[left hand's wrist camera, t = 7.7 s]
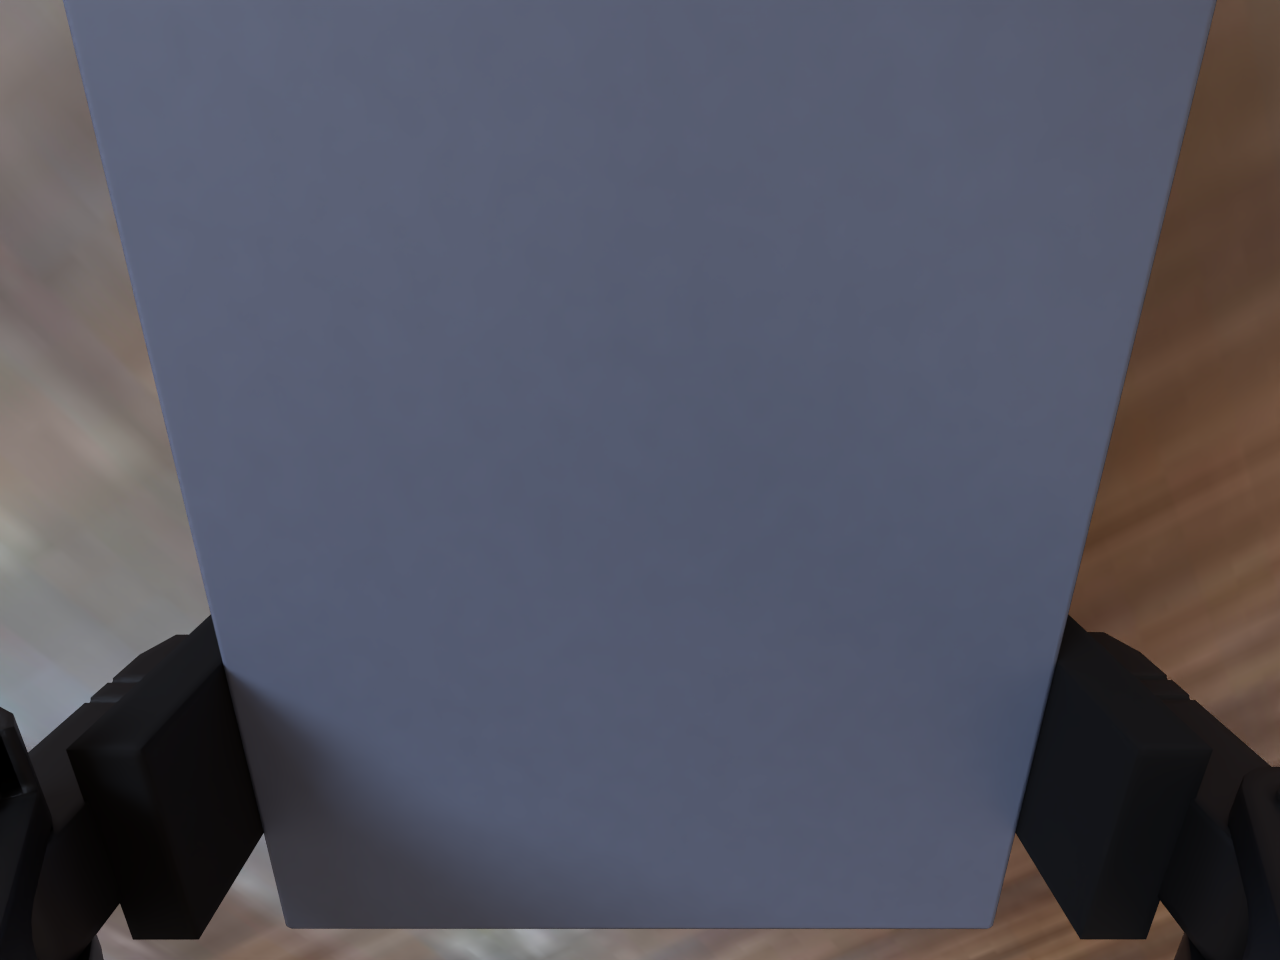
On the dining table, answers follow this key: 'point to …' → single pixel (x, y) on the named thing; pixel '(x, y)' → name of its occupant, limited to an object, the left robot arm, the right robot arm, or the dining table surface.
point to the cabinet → (639, 427)
